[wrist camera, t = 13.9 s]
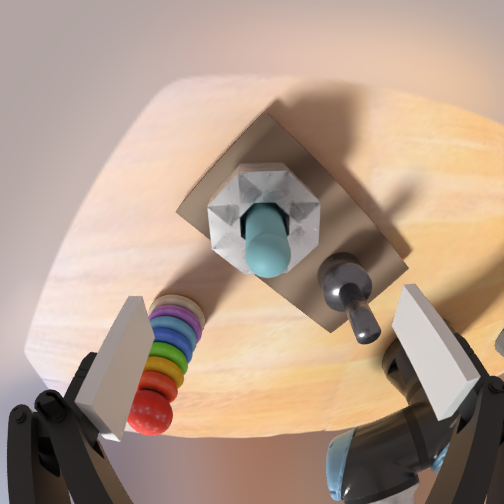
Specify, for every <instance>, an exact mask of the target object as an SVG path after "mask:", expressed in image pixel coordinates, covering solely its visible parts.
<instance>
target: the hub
mask: <svg viewBox="0 0 504 504" xmlns="http://www.w3.org/2000/svg"><path fill="white" fill-rule="evenodd" d="M283 218H284V210H283V209H282V208H281V207H280V206H278V205H277V204H276V203H275V202H266V203H253V204H252V205H251V206H250V207H249V208H248V209H247V210H246V211H245V212H244V214H243V215H242V220H243V221H245V222H246V240H245V259H246V263H247V265H248V267H249V268H250V270H251V271H252V272H253V273H255V274H256V275H258V276H260V277H264V278H272V277H276V276H278V275H280V274H282V273H283V272H284V271H285V270H286V269H287V267H288V265H289V263H290V260H291V250H290V246H289V242H288V239H287V235H286V232H285V228H284V225H283V221H282V219H283Z"/></svg>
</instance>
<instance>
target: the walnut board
mask: <svg viewBox="0 0 504 504" xmlns="http://www.w3.org/2000/svg"><path fill="white" fill-rule="evenodd" d="M274 162H283V164H285V165H286V166H287V167H288V168H289V169H290V170H291V171H292V172H293V173H294V174H295V175H296V176H297V177H298V178H299V179H300V180H301V181H302V182H303V183H304V184H305V185H306V186H307V187H308V188H309V189H311V190H312V192H313V193H314V194H315V196H316V197H317V198H318V200H319V201H320V224H319V241H318V244H319V245H318V246H316V247H315V248H314V249H313V250H312V251H311V252H310V253H309V254H308V255H307V256H305V257H304V258H303V259H302V260H301V261H300V262H299V263H298V264H297V265H295V266H294V267H293V268H292V269H291V270H290V271H289V272H288V273H282V274H280V275H278V276H276V277H272V278H264V277H260V276H258V275H256V274H254V275H256V276H257V277H258V278H259V279H261V280H262V281H263V282H265V283H266V284H267V285H268V286H270V287H271V288H272V289H274V290H275V291H276V292H277V293H279V294H280V295H281V296H283V297H284V298H285V299H286V300H288V301H289V302H290V303H292V304H293V305H294V306H296V307H297V308H298V309H299V310H301V311H302V312H303V313H305V314H306V315H307V316H309V317H310V318H311V319H313V320H314V321H315V322H316V323H318V324H319V325H320V326H322V327H323V328H324V329H326V330H327V331H328V332H330V333H332V332H333V331H334V330H336V329H337V328H338V327H339V326H341V325H342V324H343V323H345V322H346V321H347V320H348V316H347V314H346V312H339V311H335V310H333V309H331V308H330V307H329V306H328V305H327V304H326V302H325V299H324V296H323V293H322V290H321V288H320V285H319V282H318V278H317V273H318V269H319V267H320V265H321V263H322V262H323V261H324V260H325V259H326V258H327V257H329V256H331V255H333V254H335V253H340V252H346V253H350V254H353V255H354V256H356V257H357V258H358V260H359V261H360V263H361V264H362V266H363V267H364V269H365V271H366V272H367V274H368V275H369V277H370V279H371V281H372V291H371V294H370V296H369V298H368V299H367V301H366V302H367V303H370V302H371V301H372V300H373V299H374V298H376V297H377V296H378V295H379V294H380V293H382V292H383V291H384V290H385V289H386V288H387V287H388V286H390V285H391V284H392V283H393V282H394V281H395V280H396V279H398V278H399V277H400V276H401V275H402V274H403V273H404V272H405V271H406V270H408V269H409V268H408V266H407V265H406V264H405V262H404V261H403V260H402V258H401V257H400V256H399V254H398V253H397V252H396V251H395V249H394V248H393V247H392V245H391V244H390V243H389V242H388V240H387V239H386V238H385V237H384V235H383V234H382V233H381V232H380V231H379V229H378V228H377V227H376V226H375V224H374V223H373V222H372V221H371V220H370V218H369V217H368V216H367V215H366V214H365V213H364V211H363V210H362V209H361V208H360V207H359V206H358V204H357V203H356V202H355V201H354V200H353V199H352V198H351V197H350V195H349V194H348V193H347V192H346V191H345V190H344V189H343V188H342V187H341V185H340V184H339V183H338V182H337V181H336V180H335V179H334V178H333V177H332V176H331V175H330V174H329V173H328V172H327V171H326V169H325V168H324V167H323V166H322V165H321V164H320V163H319V162H318V161H317V160H316V159H315V158H314V157H313V156H312V155H311V154H310V153H309V152H308V151H307V150H306V149H305V148H304V147H303V146H302V145H301V144H300V143H299V142H298V141H297V140H296V139H295V138H294V137H292V136H291V135H290V134H289V133H288V132H287V131H286V130H285V129H284V128H283V127H282V126H281V125H280V124H279V123H278V122H276V121H275V120H274V119H273V118H272V117H271V116H270V115H269V114H268V113H266V112H264V113H263V114H262V115H261V116H260V117H259V118H258V119H257V120H256V121H255V122H254V123H253V124H252V125H251V126H250V127H249V128H248V129H247V130H246V131H245V132H244V133H243V134H242V135H241V137H240V138H239V139H238V140H237V141H236V142H235V143H234V144H233V145H232V146H231V147H230V148H229V149H228V151H227V152H226V153H225V154H224V155H223V156H222V157H221V158H220V159H219V160H218V162H217V163H216V164H215V165H214V166H213V167H212V168H211V169H210V171H209V172H208V173H207V174H206V175H205V176H204V178H203V179H202V180H201V181H200V182H199V183H198V185H197V186H196V187H195V188H194V189H193V190H192V192H191V193H190V194H189V195H188V196H187V198H186V199H185V200H184V201H183V202H182V204H181V205H180V206H179V207H178V209H177V210H176V213H177V214H179V215H180V216H181V217H182V218H184V219H185V220H186V221H187V222H189V223H190V224H191V225H192V226H194V227H195V228H196V229H197V230H199V231H200V232H201V233H202V234H204V235H205V236H206V237H207V238H209V239H210V240H211V237H210V228H209V218H208V209H207V206H208V204H209V202H210V199H211V197H212V195H213V193H214V192H215V191H216V190H217V189H218V188H219V186H220V185H221V184H222V183H223V182H224V181H225V180H226V179H227V178H228V177H229V175H230V174H231V173H232V172H233V171H234V170H235V169H236V168H237V167H238V166H239V165H240V164H246V163H274Z"/></svg>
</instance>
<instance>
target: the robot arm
mask: <svg viewBox="0 0 504 504" xmlns="http://www.w3.org/2000/svg"><path fill="white" fill-rule="evenodd" d="M392 327H393V329H394V331H395V333H396V335H397V337H398V338H397V339H396V340H395V341H394V342H393V343H392V344H391V346H390V347H389V348H388V350H387V351H386V353H385V355H384V358H383V362H382V367H383V370H384V372H385V375H386V377H387V379H388V380H389V381H390V382H391V383H392V384H393V385H394V386H395V387H396V388H397V389H398V390H399V391H400V393H401V394H402V395H403V396H404V397H405V398H406V400H407V402H408V405H409V406H408V407H406V408H404V409H401V410H399V411H397V412H395V413H393V414H390V415H388V416H386V417H384V418H381V419H379V420H376V421H374V422H372V423H369V424H367V425H364V426H361V427H355V428H354V429H353V430H350V431H348V432H345V433H343V434H340V435H338V436H336V437H334V438H333V439H332V441H331V442H330V444H329V446H328V450H327V457H326V472H327V473H326V474H327V483H328V488H329V490H330V493H331V496H332V498H333V499H334V500H339V501H341V500H344V502H345V504H415V503H414V499H413V493H414V492H415V490H416V488H417V487H418V485H419V484H420V481H419V478H418V472H420V471H422V470H425V469H427V468H429V467H431V470H432V471H433V472H434V473H437V472H439V474H438V476H437V478H436V481H435V483H434V485H433V488H432V490H431V492H430V495H429V496H428V498H427V501H426V503H425V504H484V501H485V498H486V495H487V501H486V504H504V382H503V381H502V380H501V379H500V378H498V377H497V376H490V375H489V374H488V373H487V371H486V369H485V368H484V366H483V365H482V363H481V362H480V360H479V359H478V357H477V356H476V354H474V351H473V350H472V348H470V345H469V344H468V342H467V341H466V340H465V338H463V337H462V336H461V335H460V334H458V333H455V331H454V329H453V328H452V326H451V325H450V323H449V322H448V321H446V320H444V319H442V318H441V317H440V315H439V314H438V313H437V311H436V310H435V309H434V307H433V306H432V305H431V303H430V302H429V301H428V299H427V298H426V297H425V295H424V294H423V293H422V292H421V290H420V289H419V288H418V286H417V285H416V284H407V285H403V288H402V292H401V296H400V299H399V303H398V307H397V310H396V313H395V317H394V320H393V323H392ZM154 338H155V336H154V333H153V330H152V327H151V324H150V321H149V317H148V314H147V311H146V308H145V304H144V301H143V297H142V296H129V297H128V298H127V300H126V302H125V304H124V305H123V307H122V309H121V311H120V312H119V314H118V316H117V318H116V320H115V321H114V323H113V325H112V327H111V329H110V331H109V333H108V334H107V336H106V338H105V340H104V342H103V344H102V346H101V348H100V350H99V352H98V353H94V352H90V353H89V354H88V355H87V356H86V357H85V358H84V359H83V360H82V362H81V364H80V366H79V368H78V370H77V371H76V373H75V377H73V379H72V381H71V383H70V385H69V387H68V389H67V391H66V393H65V396H64V398H63V397H62V396H61V395H60V393H59V392H57V391H56V390H51V389H50V390H46V391H44V392H42V393H40V394H39V396H38V397H37V398H36V400H35V409H36V410H37V411H38V412H33V411H32V410H31V409H30V408H29V407H28V406H26V405H22V404H21V405H17V406H16V407H15V408H13V409H12V411H11V412H10V416H9V423H8V440H7V473H8V474H7V475H8V492H9V503H10V504H71V501H70V496H69V492H70V494H71V496H72V499H73V501H74V503H75V504H133V502H132V500H131V499H130V497H129V496H128V494H127V493H126V491H125V489H124V487H123V486H122V484H121V482H120V481H119V479H118V477H117V475H116V473H115V471H114V469H113V468H112V466H111V464H110V462H109V460H108V458H107V456H106V454H105V452H104V450H103V448H102V446H101V444H100V441H99V440H98V439H97V437H98V433H99V432H100V433H101V434H102V435H103V437H104V438H106V439H110V440H115V441H119V442H121V439H122V435H123V432H124V429H125V425H126V422H127V419H128V415H129V412H130V409H131V406H132V403H133V400H134V397H135V393H136V390H137V387H138V384H139V381H140V378H141V375H142V372H143V369H144V367H145V364H146V361H147V358H148V355H149V352H150V350H151V347H152V344H153V341H154ZM68 490H69V491H68Z"/></svg>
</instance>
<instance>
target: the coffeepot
mask: <svg viewBox="0 0 504 504" xmlns="http://www.w3.org/2000/svg"><path fill="white" fill-rule="evenodd" d="M495 350H497V351H498V352H499V353H500V354H501V355H502V356H503V357H504V329H503V331H502V332H501V333H500V335H499V336H498V338H497V340H496V342H495Z"/></svg>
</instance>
